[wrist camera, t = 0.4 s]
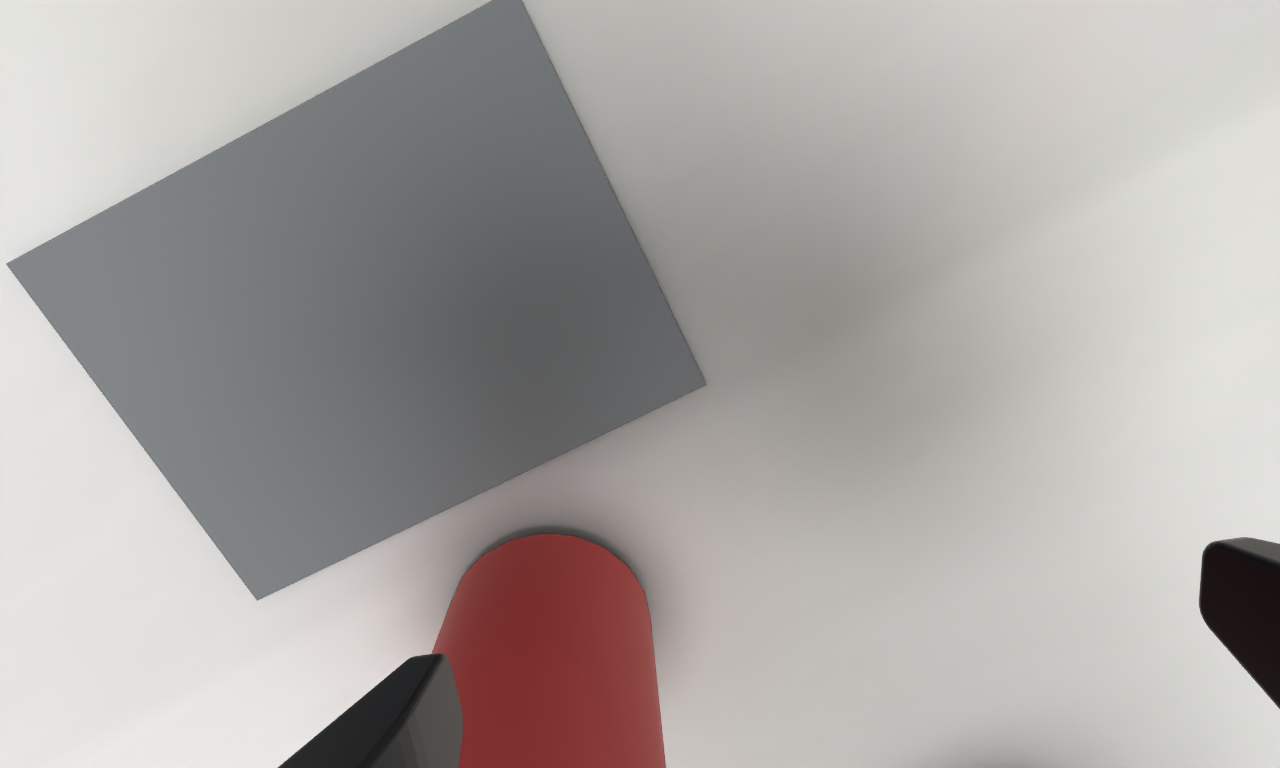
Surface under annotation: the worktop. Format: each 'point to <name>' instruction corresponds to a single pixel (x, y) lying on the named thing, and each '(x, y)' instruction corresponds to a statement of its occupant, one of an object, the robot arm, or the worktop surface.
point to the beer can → (553, 659)
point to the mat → (370, 303)
